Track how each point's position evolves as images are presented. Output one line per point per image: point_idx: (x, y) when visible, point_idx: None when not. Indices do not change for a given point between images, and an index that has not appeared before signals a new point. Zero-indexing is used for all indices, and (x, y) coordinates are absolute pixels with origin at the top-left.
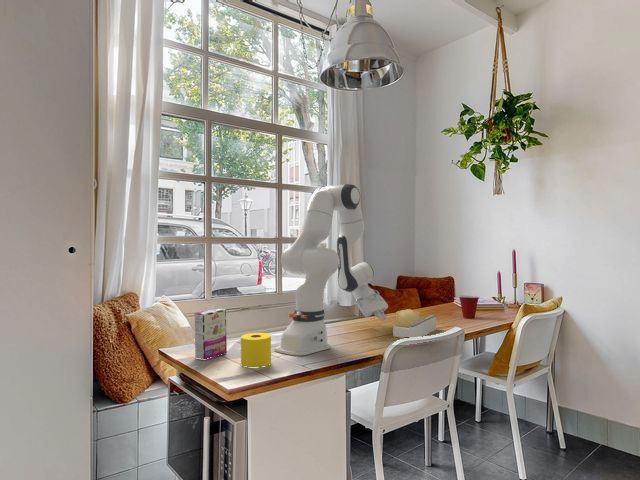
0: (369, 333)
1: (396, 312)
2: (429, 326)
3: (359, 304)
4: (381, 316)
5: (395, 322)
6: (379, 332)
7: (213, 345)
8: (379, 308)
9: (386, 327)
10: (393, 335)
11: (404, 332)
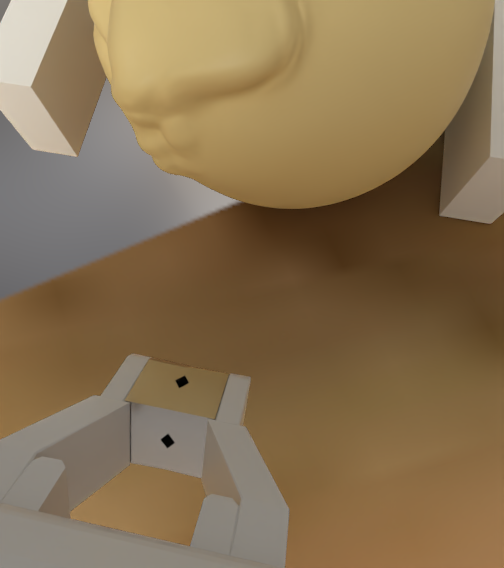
0: (497, 543)
1: (270, 55)
2: None
3: None
4: (238, 432)
5: (406, 149)
6: (372, 423)
7: None
8: (92, 556)
9: (35, 413)
10: (496, 216)
11: None
